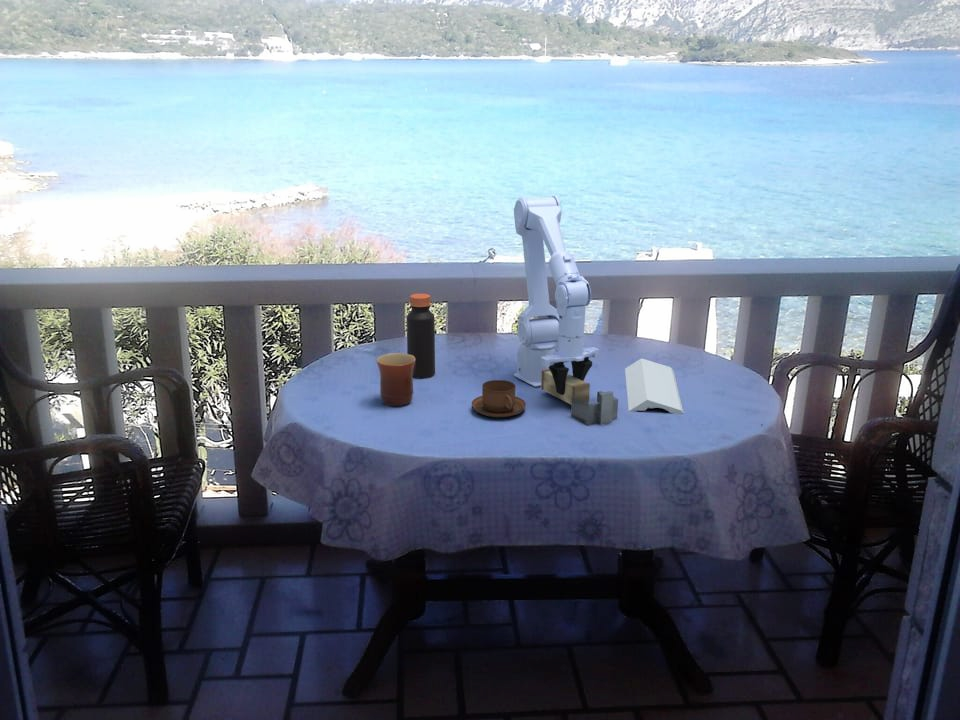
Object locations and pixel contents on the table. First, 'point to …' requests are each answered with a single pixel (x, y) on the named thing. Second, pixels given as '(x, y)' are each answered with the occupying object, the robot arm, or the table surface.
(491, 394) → the cup and saucer
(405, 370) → the mug
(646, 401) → the crown molding
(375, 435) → the table surface
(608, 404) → the bracket
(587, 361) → the robot arm
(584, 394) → the tan rectangular block
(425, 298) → the bottle
